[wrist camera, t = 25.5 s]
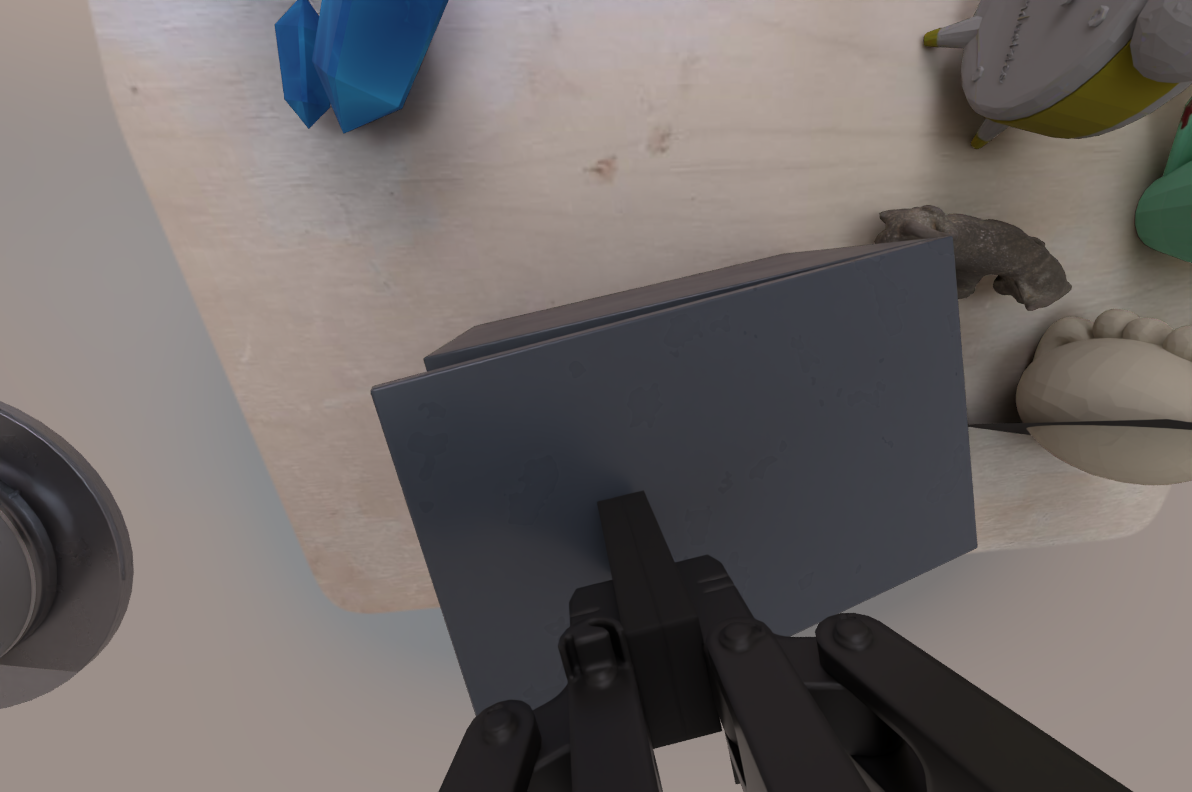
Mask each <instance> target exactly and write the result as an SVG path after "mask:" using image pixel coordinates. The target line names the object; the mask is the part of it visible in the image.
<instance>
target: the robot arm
mask: <svg viewBox="0 0 1192 792" xmlns="http://www.w3.org/2000/svg"><path fill="white" fill-rule="evenodd" d="M597 505H598V510H599V515H600V520H601V525H602V530H603V535H604V540H605V545H606V550H607V555H608V560H609V565H610V570H611V575H612V580H609V581H605V582H601V583H597V584H593V585H589V586H585V587H581V588H577V589H576V590H575V592H574V593H573V595H572V597H571V599H570V601H569V615H570V627H569V628H567V629H566V630H565V632H564V633H563V634H562V635H561V637H560V639H559V643H558V649H559V653H560V656H561V660H562V663H563V667H564V671H565V674H566V678H567V681H568V684H567V685H566V687H565V688H564V689H563V690H562V691H561V692H560V693H559V694H558V695H557V696H556V697H555V698H553V699H552V700H550V701H548V702H547V703H545V704H543V705H541V706H540V707H538V708H536V709H534V710H532V708H531V706H530V705H528V704H527V703H525V702H523V701H521V700H511V699H510V700H506V701H501V702H497V703H495V704H493V705H492V706H490V707H488V708H486V709H484V710H483V711H482V712H481V713H480V714H479V715H477V716H476V717H475V718H474V719H473V721H472V722H471V724H470V725H469V727H468V729H467V730H466V733H465V735H464V737H463V739H462V741H461V744H460V746H459V748H458V750H457V752H456V755H455V757H454V759H453V761H452V763H451V766H450V768H449V770H448V772H447V775H446V777H445V779H444V781H443V783H442V786H441V788H440V790H439V792H663V790H662V786H661V781H660V776H659V772H658V768H657V763H656V759H655V755H654V751H653V749H655V748H658V747H662V746H666V745H670V744H674V743H678V742H682V741H686V740H690V739H693V738H697V737H701V736H705V735H709V734H713V733H716V732H720V731H722V727H721V723H722V725H723V728H724V730H725V735H726V740H727V744H728V749H729V754H730V759H731V764H732V769H733V773H734V778H735V783H736V784H739V783H741V786H742V789H743V791H744V792H1133V791H1131V790H1130V789H1128V788H1127V787H1125V786H1124V785H1122V784H1121V783H1119V782H1117V781H1116V780H1115V779H1113V778H1112V777H1110V776H1109V775H1107V774H1106V773H1104V772H1103V771H1101V770H1100V769H1099V768H1097V767H1096V766H1094V765H1093V764H1091V763H1090V762H1088V761H1086V760H1085V759H1084V758H1082V757H1081V756H1079V755H1077V754H1076V753H1075V752H1073V751H1072V750H1070V749H1069V748H1067V747H1066V746H1064V745H1063V744H1061V743H1060V742H1058V741H1057V740H1055V739H1054V738H1052V737H1051V736H1049V735H1048V734H1047V733H1045V732H1044V731H1042V730H1040V729H1039V728H1038V727H1036V726H1035V725H1033V724H1032V723H1030V722H1029V721H1027V720H1026V719H1024V718H1023V717H1021V716H1020V715H1018V714H1017V713H1015V712H1014V711H1012V710H1011V709H1009V708H1008V707H1006V706H1005V705H1003V704H1002V703H1000V702H999V701H997V700H996V699H994V698H993V697H991V696H990V695H989V694H987V693H985V692H984V691H983V690H981V689H980V688H978V687H977V686H975V685H973V684H972V683H970V682H969V681H968V680H966V679H965V678H963V677H962V676H960V675H959V674H957V673H956V672H954V671H953V670H951V669H950V668H948V667H947V666H945V665H944V664H942V663H941V662H939V661H938V660H936V659H935V658H933V657H932V656H931V655H929V654H928V653H926V652H925V651H923V650H922V649H920V648H919V647H917V646H916V645H914V644H912V643H911V642H910V641H908V640H907V639H905V638H904V637H902V636H901V635H899V634H898V633H896V632H895V631H893V630H892V629H890V628H889V627H887V626H886V625H884V624H883V623H881V622H880V621H877V620H876V619H874V618H871V617H869V616H866V615H861V614H856V613H840V614H836V615H833V616H829V617H827V618H826V619H824V620H823V621H821V622H820V623H819V624H818V626H817V629H816V631H815V633H816V637H786V636H782V635H777V634H774V633H773V632H772V631H771V629H770V628H769V627H768V626H767V625H766V624H765V623H764V622H762V621H759V620H757V619H755V618H754V616H753V615H752V613H751V611H750V610H749V608H748V606H747V605H746V603H745V601H744V600H743V598H742V596H741V595H740V593H739V591H738V590H737V588H736V586H734V583H733V581H732V580H731V578H730V576H729V575H728V573H727V571H726V569H725V568H724V566H723V564H722V563H721V562H720V561H718V560H716V559H715V558H713V557H711V556H710V555H708V554H707V555H703V556H699V557H695V558H691V559H687V560H683V561H679V562H675V561H674V559H673V557H672V555H671V552H670V550H669V548H668V545H667V543H666V541H665V538H664V536H663V534H662V531H661V529H660V527H659V524H658V522H657V520H656V518H655V515H654V513H653V511H652V508H651V506H650V504H649V501H648V499H647V497H646V494H645V492H644V490H643V491H639V492H635V493H631V494H626V495H622V496H618V497H614V498H610V499H606V500H602V501H598V502H597ZM56 586H57V564H56V559H55V554H54V550H53V547H52V544H51V541H50V539H49V536H48V534H47V532H46V530H45V528H44V526H43V524H42V523H41V521H40V520H39V518H38V517H37V515H36V514H35V512H34V511H33V510H32V509H31V507H30V506H29V505H28V504H27V503H26V501H25V500H24V499H23V498H22V497H21V496H20V495H19V494H18V493H17V492H15V491H14V490H13V489H12V488H11V487H10V486H9V485H7V484H6V483H5V482H3V481H2V480H0V658H1V657H2V656H4V655H5V654H7V653H8V652H9V651H11V650H12V649H14V648H15V647H17V646H18V645H20V644H21V643H22V642H24V641H25V640H26V639H27V638H29V637H30V636H31V635H32V634H33V633H34V632H35V631H36V630H37V629H38V627H39V626H40V625H41V624H42V622H43V621H44V619H45V617H46V616H47V614H48V612H49V610H50V608H51V606H52V603H53V600H54V596H55V592H56ZM719 717H720V718H719ZM720 720H721V723H720Z"/></svg>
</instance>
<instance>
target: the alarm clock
mask: <svg viewBox="0 0 1192 792" xmlns="http://www.w3.org/2000/svg"><path fill="white" fill-rule="evenodd" d="M924 46H928V47H948V48H964V52H963V59H962V66H961V78H962V88H963V91H964V93H965V95H966V98H967V101H968V103H969V105H970V106H971V107H972V108H973V110H974V111H975V112H976V113H978V114H980V115H982V116H983V117H985V118H986V119H985V121H984V122H983V124H982V125H981V127H980V128H979V130H978V131H977V133H976V135H975V136H974V138H973V140H972V141H971V146H972V147H974V148H975V149H979V148H981V147H983V146H984V145H986V144H987V143H988V142H990V141H991V140H992V139H993V138H994V137H996V136H997V135H998V134H1000V133H1001V132H1002V131H1004V130H1005V129H1006V128H1008V127H1009V126H1011V127H1015V128H1018V129H1022V130H1026V131H1030V132H1034V133H1037V134H1041V135H1045V136H1049V137H1054V138H1065V139H1070V138H1074V139H1081V138H1087V137H1093V136H1099V135H1102V134H1105V133H1107V132H1110V131H1113V130H1116V129H1119V128H1121V127H1124V126H1126V125H1128V124H1130V123H1132V122H1134V121H1136V120H1138V119H1140V118H1142V117H1144V116H1146V115H1148V114H1150V113H1152V112H1153V111H1155V110H1156V109H1158V108H1159V107H1161V106H1162V105H1164V104H1165V103H1167V102H1168V101H1169V100H1171V99H1172V98H1174V97H1175V96H1177V95H1178V94H1180V93H1181V92H1182V91H1184V90H1185V89H1186V88H1187V87H1188V86H1190V85H1191V84H1192V0H981V1H980V3H979V5H978V7H977V10H976V12H975V14H974V17H972V18H970V19H967V20H964V21H961V22H958V23H955V24H952V25H949V26H947V27H944V28H939V29H936V30H933V31H930V32H927V33H926V34H925V36H924Z"/></svg>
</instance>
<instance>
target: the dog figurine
mask: <svg viewBox="0 0 1192 792" xmlns="http://www.w3.org/2000/svg"><path fill="white" fill-rule="evenodd" d="M879 214H880V219H881V220H882V221H883V222H884V223H885V224H886V230H884V231H883V232H881V233H880V234H879V235H878V236H877V238H876V240H875V244H880V243H890V242H899V241H909V240H918V239H928V238H938V237H945V236H952V237H953V244H954V256H955V269H956V281H957V294H958V299H962V298H967V297H968V296H970V295H971V294H973V293H974V291H975V287H976V285H977V284H978V283H979V281H980V280H981V279H982V277H983V276H985V275H990V274H992V275H998V276H997V277H996V279H995V280H994V283H993V288H994V290H995V291H996V292H997V293H999V294H1001V295H1012V296H1013V297H1014V298H1015V299H1016V301H1017V302H1018V303H1021V304H1025V307H1026V309H1027V310H1029V311H1033V310H1036V309H1038V308H1042V307H1047V306H1049V305H1050V304H1052V303H1053V302H1055V301H1057V300H1059V299H1060V298H1061V297H1063V296H1064V295H1065V294H1067V293H1068V292H1069V291H1070V290H1071V288H1072V286H1071V285H1070V283H1069V282H1067V280H1066V275H1065V272H1064V270H1063V268H1062V266H1061V264H1060V263H1059V262H1058V260H1057V259H1056V258H1054V257H1053V256H1052V255H1051V254H1050V253H1049V251H1048V250H1047V249H1046V248H1045V243H1044V242H1043V241H1041V240H1040V239H1038V238H1036V237H1030V236H1028V235H1027V234H1025V233H1024V232H1023V231H1022V230H1021V229H1020V228H1018V227H1016V226H1014V225H1011V224H1008V223H1005V222H1002V221H998V220H991V219H988V220H981V219H978V218H975V217H972V216H967V215H962V214H948V215H945V213H944V212H943V211H942V210H941V209H940V208H938V207H935V206H931V205H926V206H922V207H920V208H919V207H914V208H912V209H897V210H888V211H884V212H881V213H879Z"/></svg>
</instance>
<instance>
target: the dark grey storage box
mask: <svg viewBox="0 0 1192 792" xmlns="http://www.w3.org/2000/svg"><path fill="white" fill-rule="evenodd" d="M929 239H933V238H928V239H918V240H909V241H899V242H890V243H880V244H871V245H862V246H852V247H843V248H833V249H824V250H814V251H805V252H795V253H786V254H781V255H776V256H772V257H768V258H764V259H759V260H755V261H751V262H746V263H742V264H738V265H734V266H729V267H725V268H721V269H717V270H712V271H708V272H704V273H699V274H695V275H691V276H687V277H682V278H678V279H674V280H670V281H665V282H661V283H657V284H652V285H648V286H644V287H640V288H635V289H631V290H627V291H623V292H618V293H614V294H610V295H605V296H601V297H597V298H593V299H588V300H584V301H580V302H576V303H571V304H567V305H563V306H558V307H554V308H550V309H546V310H541V311H537V312H533V313H529V314H524V315H520V316H516V317H511V318H507V319H503V320H499V321H494V322H490V323H486V324H482V325H477V326H474V327H473V328H471V329H469V330H468V331H466V332H465V333H463V334H461V335H460V336H458V337H457V338H455V339H453V340H452V341H450V342H449V343H447V344H445V345H444V346H442V347H441V348H439V349H438V350H436V351H434V352H433V353H431V354H430V355H428V356H426V357H425V358H424V363H425V366H426V370H427V372H428V371H432V370H435V369H439V368H443V367H447V366H451V365H454V364H458V363H462V362H466V361H470V360H473V359H477V358H481V357H485V356H489V355H492V354H496V353H500V352H504V351H508V350H511V349H515V348H519V347H523V346H527V345H530V344H534V343H538V342H542V341H546V340H549V339H553V338H557V337H561V336H565V335H568V334H572V333H576V332H580V331H584V330H587V329H591V328H595V327H599V326H602V325H606V324H610V323H614V322H618V321H621V320H625V319H629V318H633V317H637V316H640V315H644V314H648V313H652V312H656V311H659V310H663V309H667V308H671V307H675V306H678V305H682V304H686V303H690V302H694V301H697V300H701V299H705V298H709V297H713V296H716V295H720V294H724V293H728V292H732V291H735V290H739V289H743V288H747V287H751V286H754V285H758V284H762V283H766V282H770V281H773V280H777V279H781V278H785V277H789V276H792V275H796V274H800V273H804V272H808V271H811V270H815V269H819V268H823V267H826V266H830V265H834V264H838V263H842V262H845V261H849V260H853V259H857V258H861V257H864V256H868V255H872V254H876V253H880V252H883V251H887V250H891V249H895V248H899V247H902V246H906V245H910V244H914V243H918V242H921V241H925V240H929Z"/></svg>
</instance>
